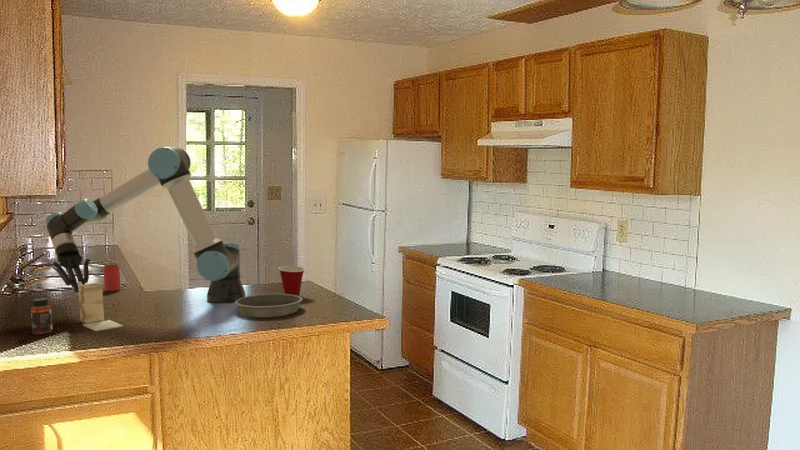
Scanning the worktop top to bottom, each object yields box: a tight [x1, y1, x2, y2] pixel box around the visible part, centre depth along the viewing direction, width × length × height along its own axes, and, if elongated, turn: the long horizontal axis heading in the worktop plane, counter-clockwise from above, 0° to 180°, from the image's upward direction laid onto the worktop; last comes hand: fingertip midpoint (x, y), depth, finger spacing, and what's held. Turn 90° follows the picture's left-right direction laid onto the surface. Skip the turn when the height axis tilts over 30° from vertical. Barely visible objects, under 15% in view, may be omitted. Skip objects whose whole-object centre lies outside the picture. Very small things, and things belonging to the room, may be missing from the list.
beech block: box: [78, 282, 105, 324], centre depth 236 cm, size 6×6×13 cm
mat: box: [82, 319, 124, 332], centre depth 230 cm, size 12×9×1 cm
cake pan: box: [234, 293, 303, 318], centre depth 250 cm, size 25×25×4 cm
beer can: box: [103, 262, 122, 293], centre depth 296 cm, size 7×7×12 cm
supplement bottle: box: [30, 297, 54, 336], centre depth 221 cm, size 6×6×11 cm
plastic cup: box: [278, 265, 306, 296], centre depth 276 cm, size 11×11×12 cm
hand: (83, 298), depth 241 cm, fingers closed
